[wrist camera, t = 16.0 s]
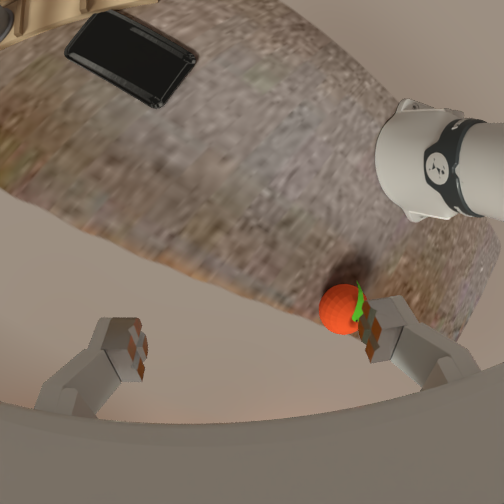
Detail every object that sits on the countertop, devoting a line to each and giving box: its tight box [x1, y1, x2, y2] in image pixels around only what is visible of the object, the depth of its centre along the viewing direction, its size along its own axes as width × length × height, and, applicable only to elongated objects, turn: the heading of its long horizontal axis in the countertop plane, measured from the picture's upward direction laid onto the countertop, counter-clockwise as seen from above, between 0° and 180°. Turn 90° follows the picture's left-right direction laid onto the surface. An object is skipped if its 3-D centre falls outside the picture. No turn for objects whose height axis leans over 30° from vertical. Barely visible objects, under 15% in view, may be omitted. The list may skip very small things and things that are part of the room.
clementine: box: [319, 282, 367, 335], centre depth 42 cm, size 8×7×7 cm
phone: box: [64, 9, 196, 109], centre depth 29 cm, size 8×1×15 cm
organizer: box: [0, 0, 158, 51], centre depth 23 cm, size 26×6×3 cm, turn 98°
